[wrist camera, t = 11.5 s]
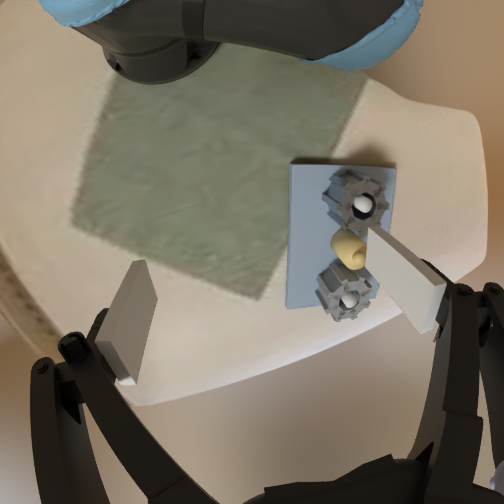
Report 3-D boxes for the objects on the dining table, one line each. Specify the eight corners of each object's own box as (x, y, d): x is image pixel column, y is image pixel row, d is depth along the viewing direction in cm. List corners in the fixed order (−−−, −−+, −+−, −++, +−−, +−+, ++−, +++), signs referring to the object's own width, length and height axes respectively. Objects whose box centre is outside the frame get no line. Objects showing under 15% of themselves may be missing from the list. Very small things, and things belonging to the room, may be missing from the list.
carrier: (289, 163, 35) (305, 171, 29) (391, 167, 37) (420, 177, 30) (285, 305, 44) (296, 334, 38) (372, 294, 46) (391, 318, 39)
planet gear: (331, 230, 39) (346, 244, 34) (315, 181, 35) (329, 190, 31) (375, 210, 38) (393, 221, 33) (362, 162, 35) (381, 168, 30)
